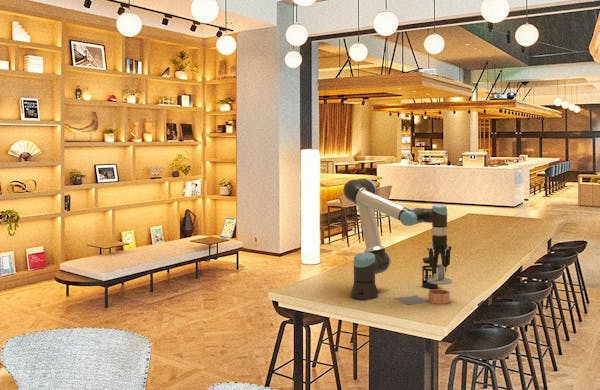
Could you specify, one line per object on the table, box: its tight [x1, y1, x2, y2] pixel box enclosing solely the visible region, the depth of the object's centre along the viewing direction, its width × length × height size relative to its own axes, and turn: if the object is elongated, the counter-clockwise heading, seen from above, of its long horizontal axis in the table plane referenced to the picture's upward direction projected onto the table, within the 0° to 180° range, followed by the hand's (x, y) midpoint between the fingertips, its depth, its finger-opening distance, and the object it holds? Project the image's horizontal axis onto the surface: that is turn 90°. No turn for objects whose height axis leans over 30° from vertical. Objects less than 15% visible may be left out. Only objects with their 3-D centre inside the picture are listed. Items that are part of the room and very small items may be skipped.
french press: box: [421, 247, 439, 290], centre depth 322 cm, size 12×9×23 cm
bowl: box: [427, 288, 451, 305], centre depth 293 cm, size 10×10×5 cm
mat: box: [393, 295, 431, 306], centre depth 296 cm, size 14×14×1 cm
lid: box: [427, 263, 453, 286], centre depth 292 cm, size 13×13×9 cm
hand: (439, 278), depth 293 cm, fingers closed on lid, 3 cm apart
